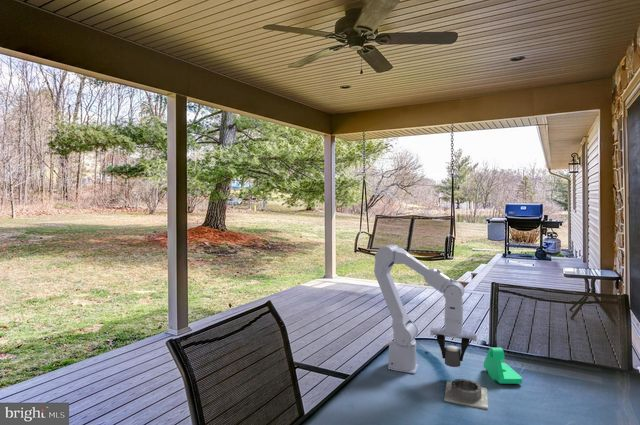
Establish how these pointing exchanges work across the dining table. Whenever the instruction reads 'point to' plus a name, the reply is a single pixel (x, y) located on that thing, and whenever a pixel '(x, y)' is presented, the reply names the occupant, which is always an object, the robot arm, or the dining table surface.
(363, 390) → the dining table surface
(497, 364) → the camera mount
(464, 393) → the white square plate
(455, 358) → the gray cylindrical peg
